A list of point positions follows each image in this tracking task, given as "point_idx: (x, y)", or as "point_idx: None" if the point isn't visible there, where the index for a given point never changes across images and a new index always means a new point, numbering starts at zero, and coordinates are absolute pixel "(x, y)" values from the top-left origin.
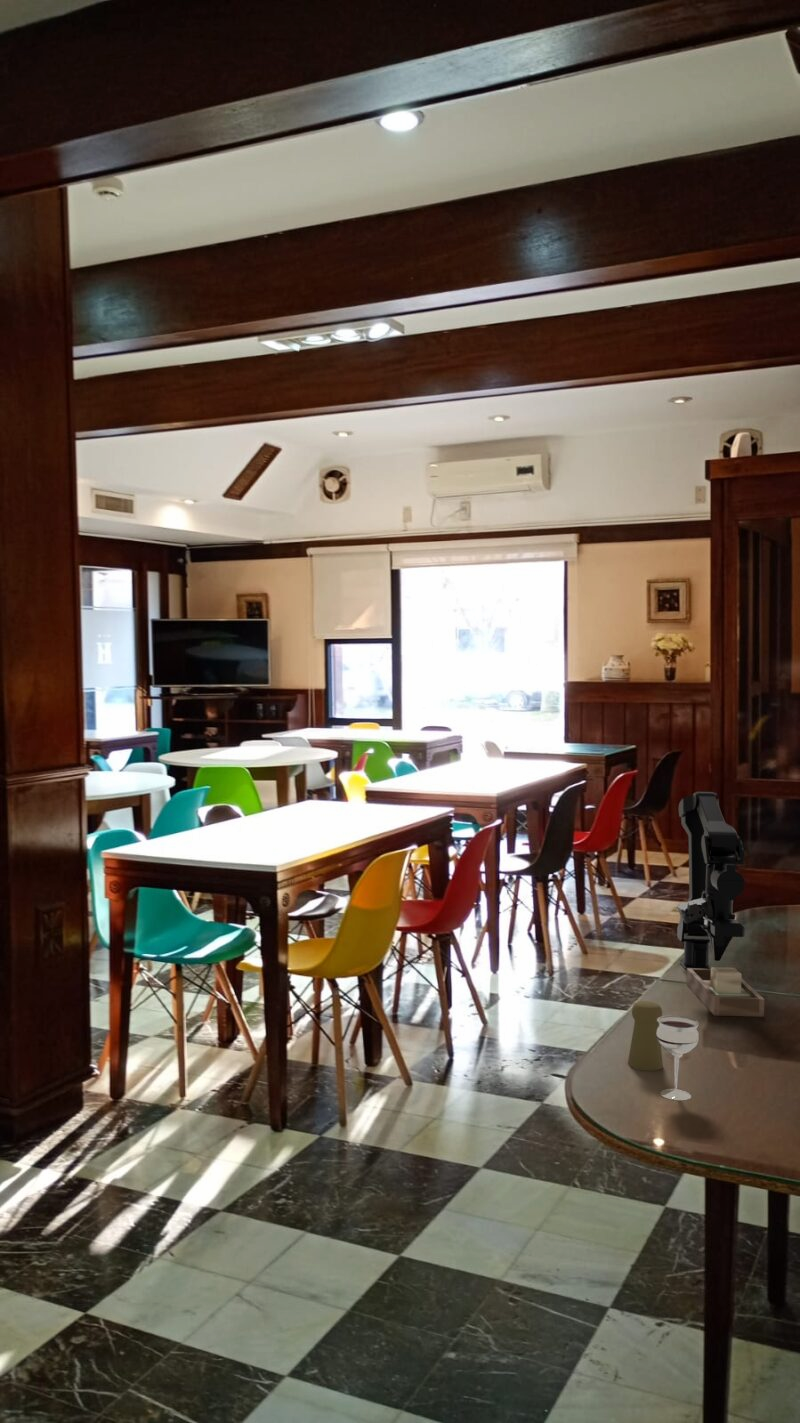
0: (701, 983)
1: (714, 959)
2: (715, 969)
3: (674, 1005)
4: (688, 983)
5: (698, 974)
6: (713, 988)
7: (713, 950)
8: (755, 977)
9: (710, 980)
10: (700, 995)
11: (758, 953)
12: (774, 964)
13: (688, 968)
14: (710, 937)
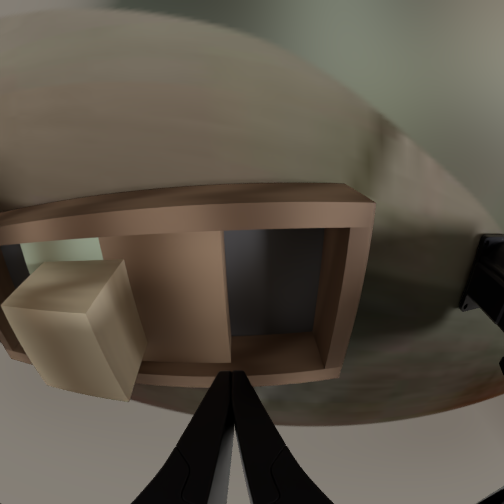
0: (66, 219)
1: (225, 372)
2: (53, 321)
3: (34, 97)
4: (308, 185)
5: (338, 248)
6: (77, 262)
7: (206, 419)
8: (382, 385)
9: (114, 272)
10: (94, 199)
11: (489, 376)
12: (441, 401)
13: (368, 210)
14: (253, 502)
